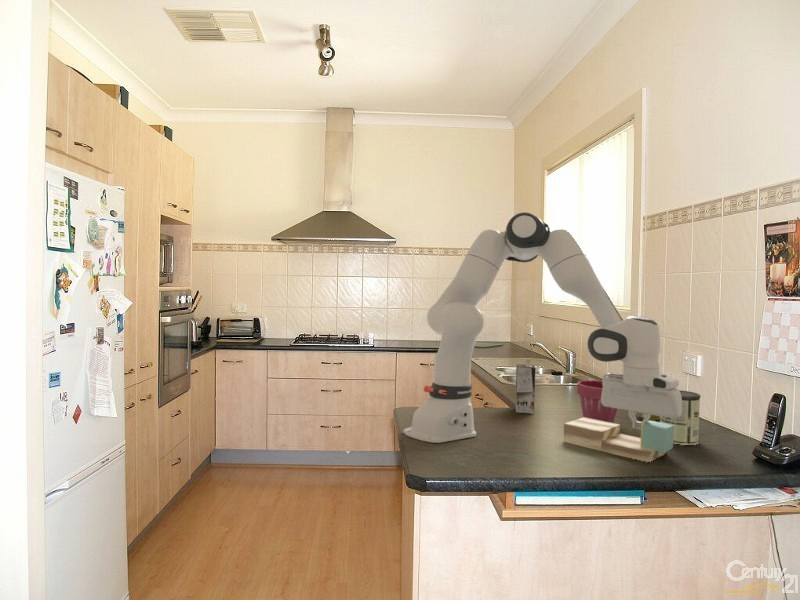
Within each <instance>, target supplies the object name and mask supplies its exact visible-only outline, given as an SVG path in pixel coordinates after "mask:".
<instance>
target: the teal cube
mask: <svg viewBox="0 0 800 600" xmlns="http://www.w3.org/2000/svg"><path fill="white" fill-rule="evenodd" d="M673 434H674V425H670V424H666V423H661V422H660V421H656V420H648V421H647V422H645V423H643V424H641V429H640V438H641V444H640V447H644V448H648V449H652V450H656V451H660V452H666V453H667V452H668V451H670V450H672V449H673V447H674V444H673Z"/></svg>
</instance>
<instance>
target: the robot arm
mask: <svg viewBox="0 0 800 600" xmlns="http://www.w3.org/2000/svg"><path fill="white" fill-rule="evenodd" d="M537 257H540V258H541V259H542V260H543V261H544V262H545V263H546V265H547V268H548V270H549V271H550V274H551V276H552V278H553V280H554V283H555V282H556V284H557V285H558V287H559V288H560V289H561V290H562V291H563V292H565V293H566V294H569V295H571V296H573V297H575V298H577V299H579V300H581V301H582V302H583V303H584V304H585V305H586V306H587V307H588V308H589V310H591V313H592V314H593V315H592V316H594V318H595V320H596V321H597V323H598V325H599V326H600V328H599V327H598V328H597V329H595V330H593V331H592V332H591V333H590V334H589V337H588V339H587V345H586V346H587V349H588V352H589V353H590V355H591V356H592V358H594V359H595V360H597V361H599V362H600V361H601V362H605V363H610V362H616V361H618V362H619V361H621V362H622V367H623V368H622V374H617V373H612V372H611V373H610V372H608V373H607V374H604V375H603V376H602V378H601V379H602V380H601V381H602V385H603V389H602V394H601V403H602V405H603V406H606V407H612V408H617V410H618V409H619V410H622V411H623V410H624V411H627V412H628V417H629V419H630V421H631V422H632V426H631V428H632V429H636V430H637V429H638V430H641V424H643V423H645V422H647V421H650V420H649V418H650V417H651V415H656V416H662V417H667V418H673V419H676V418H678V417H680V416H681V415H682V397H681V393H680V391H679V390H680V389H678V387H679V385H680V381H679V379H677V378H676V377H673V376H671V375H668V374H666V373H664V372H662V371H660V363H659V355H660V353H661V352H660V351H661V335H660V329H659V325H658V323H657V322H656V321H655V320H653V319H651V318H647V317H644V316H643V317H642V316H637V315H631V316H628V317H626V318H625V319H623V318H622V316H621V315H620V313H619V312H618V309H617V308H616V305H615V304H614V303H613V302H612V300H611V298H610V296H609V295H608V293H607V291H606V290H605V288H604V287H603V285H602V284H601V281H600V280H599V278H598V276H597V275H596V272H595V271H594V269H593V267H592V264H591V263H590V260H589V259H588V257H587V255H586V253H585V251H584V250H583V248H582V246H581V245H580V243H579V241H578V240H577V239H576V238H575V236H574V235H573V234H572V232H571V231H570V230H568V229H567V228H564V227H563V228H561V227H560V228H555V229H552V230H551V229H550V226H549V225H548V224H547V223H545V222H544V221H542V220H541V219H540V218H539V217H537V215H534V214H533V213H530V212H519V213H516V214H515V215H513V216H512V217H511V218H510V219H509V221H508V222H507V224H506V227H505V230H504V231H499V230H496V229H492V228H491V229H484V230H483V231H481V232H480V233H479V235H478V236H477V237H476V239H475V240H474V241H473V242H472V244H471V246H470V247H469V249H468V251H467V253H466V254H465V257H464V258H463V261H462V262H461V264H460V266H459V268H458V269H457V272H456V274H455V276H454V277H453V278H452V281H451V282H450V283H449V284H448V286H447V287H446V288H445V290H444V291H443V293H442V294H441V295H440V297H439V298H438V300H437V301H436V302H435V303H434V304H433V305H431V306H430V308H429V309H428V311H427V315H426V321H427V325H428V326H429V328H430V329H432V330H433V332H435V333H436V334H437V335H440V337H441V339H440V343H439V347H438V351H437V352H436V353H435V355H434V362H433V363H434V365H433V367H434V368H433V382H432V384H431V385H424V387H423V392H425V393H428V394H429V395H428V397H427V398H426V399H425V400H424V402H422V403H421V405H420V406H418V408H417V409H416V410H415V411H414V413H413V416H412V420H411V421H412V422H411V426H409V427H406V428H404V429H403V432H402V433H403V434H404V435H406V436H408V437H409V438H413V439H415V440H419V441H421V442H428V443H432V444H433V443H437V444H441V443H446V442H450V441H456V440H462V439H467V438H473V437H477V431H476V430H475V423H474V422H475V421H474V417H475V416H474V407H473V405H472V400H471V397H472V392H473V387H472V386H473V385H472V384H471V377H472V376H471V374H472V372H471V371H472V358H473V352H474V349H475V345H476V342H477V339H478V336H479V335H480V334H481V333H482V331H483V329H484V326H485V325H484V324H485V318H484V314H483V313H482V310H480V309H479V308H478V307H476V305H477V304H478V303H479V302H480V301H481V300H482V299H483V298H485V296H487V295H488V293H489V291H490V289H491V287H492V285H493V283H494V281H495V279H496V277H497V274H498V273H499V271H500V269H501V267H502V265H503V263H504V262H505V260H506V261H510V262H518V263H529V262H532V261H534V260H536V258H537ZM638 412H639V413H642V417H645V418H644V419H642V421H639V420H638V418H637V417H636V415H637V414H638Z"/></svg>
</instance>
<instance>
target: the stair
mask: <svg viewBox="0 0 800 600" xmlns="http://www.w3.org/2000/svg"><path fill="white" fill-rule="evenodd" d="M563 442H564V443H568V444H571V445H575V446H578V447H584V448H587V449H591V450H596V451H600V452H604V453H608V454H611V455H616V456H619V457H623V458H628V459H631V458H632V459H631V460H635V459H637V461H639V460H641V461H640V462H643V461H646V462H645V463H647V462H650V463H652V462H654V461H655V460H657V459H659V458H661V457H662V456H664V455H666V454H667V451H666V452H660V451H656V450H652V449H648V448H644V447H640V444H641V437H637V436H633V435H628V434H624V433H621V424H619V423H614V422H613V423H610V422H605V421H600V420H596V419H591V418H586V417H580V418H576V419H574V420H570V421H567V422H565V423H563ZM665 453H666V454H665ZM660 456H661V457H660ZM658 457H659V458H658ZM656 458H657V459H656ZM654 459H655V460H654ZM653 460H654V461H653ZM651 461H652V462H651Z"/></svg>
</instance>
